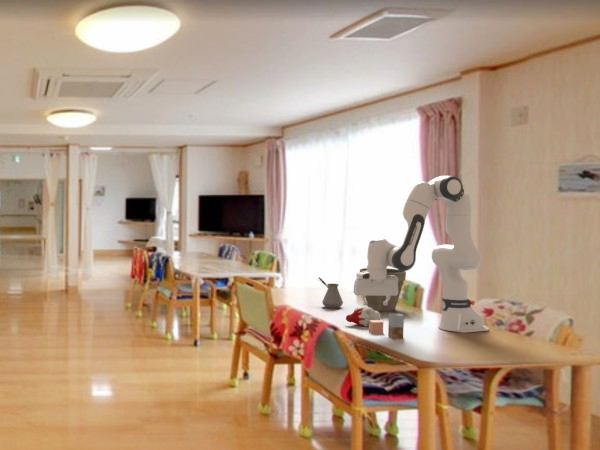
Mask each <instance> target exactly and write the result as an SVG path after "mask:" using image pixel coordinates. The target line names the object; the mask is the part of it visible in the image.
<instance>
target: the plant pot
mask: <svg viewBox="0 0 600 450" xmlns="http://www.w3.org/2000/svg"><path fill="white" fill-rule="evenodd" d="M366 270H367V267H365V268H360V269H359V273H360V272H363V271H366ZM387 275H395V276H397V277H398V294H397V296H390V299H389V301H388V305H387V306H384V305H383V301H385V300H386V299H387V298H386V296H366V297H365V301H367V302H368V303H367V304H368V305H367V306H366V307H370V308H372V309H373V310H374V311H378V312H393V311H396V307H397V304H398V301H399V298H400V294H401V291H402V288H403V284H404V282H405V281H406V278H407V277H406V276H407V271H401V270H398V269H397V268H387ZM397 277H396V278H397Z"/></svg>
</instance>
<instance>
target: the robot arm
mask: <svg viewBox="0 0 600 450" xmlns="http://www.w3.org/2000/svg"><path fill="white" fill-rule="evenodd" d="M463 185H464V184H463V182H462V181H461V179H460V178H459V177H457V176H454V175H440V176H437V177H433V178H431V179H430V180H428V181H419V182H416V183H415V185H414V187H413V188H412V189H411V191H410V192H409V195H408V197H407V199H406V202H405V203H404V206H403V210H402V215H403V219H404V220H405V221H406V223H407V231H406V234H405V235H404V240H403V242H402V244H401V245H400V246H397V245H394V244H392V243H391V242H389V241H388V240H387V239H386V238H375V239H372V240H371V241H369V243H368V248H367V255H366V257H367V266H366V268H367V270H366V271H363V272H360V271H359V272H358V273H356V279H355V281H354V284H353V293H354V295H356V296H360V298H361V300H362V301H363V304H362V305H363V307H368V306H367V305H368V304H367V303H368V302H367V301H366V296H386V298H387V299H386V300H385V301H383V305H384V306H387V305H388V301H389V299H390V296H397V294H398V277H397V276H395V275H387V269H388V267H390V268H392V269H398V270H401V271H406V272H407V271H410V270H411V269H412V268H413V267H414V266H415V263H416V258H417V254H416V253H417V248H418V245H419V242H420V240H421V237H422V235H423V231H424V228H425V223H426V219H427V216H428V214H429V212H430V209H431V206H432V205H433V202H434V201H444V202H445V206H446V216H445V232H446V234H447V235H448V236H449V237H450V238H451V240H452V243H453V244H440V245H437V246H435V247H434V248H433V250H432V251H431V260H432V263H434V265H435V266H437V268H438V271H439V272H440V274H441V275H440V276H441V279H442V298H441V310H442V311H441V317H440V323H439V325H438V328H439V329H441V330H443V331H448V332H449V331H450V332H457V333H473V332H474V333H475V332H486V331H487V332H488V331H489V327H488V326H486V325H485V324H484V318H483V316H482V314H480V313H479V312H478V311H476V310H475V309H474V308H473V307H472V306H475V305H476V302H475V300H472V299H471V300H470V299H469V298H468V297H469V296H468V292H469V291H468V288H469V284H468V281H467V280H466V278H465V277H464V276H462V274H461V271H462V270H463V271H473V270H476V269H479V268H480V266H481V265H482V262H483V255H482V253H481V251H480V250H479V249H478V248H477V246H476V245H475V243H474V241H473V237H472V234H471V218H472V217H471V216H472V207H471V206H472V205H471V199H470V196H469V194H468V193H466V192H465V190H464V186H463ZM460 270H461V271H460ZM396 277H397V278H396Z"/></svg>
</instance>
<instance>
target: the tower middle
mask: <svg viewBox="0 0 600 450" xmlns="http://www.w3.org/2000/svg"><path fill="white" fill-rule="evenodd" d="M404 320H405V319H404V314H402V313H400V312H399V313H388V325H389V326H391V327H403V328H405V326H404V325H405V323H404V322H405V321H404Z"/></svg>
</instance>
